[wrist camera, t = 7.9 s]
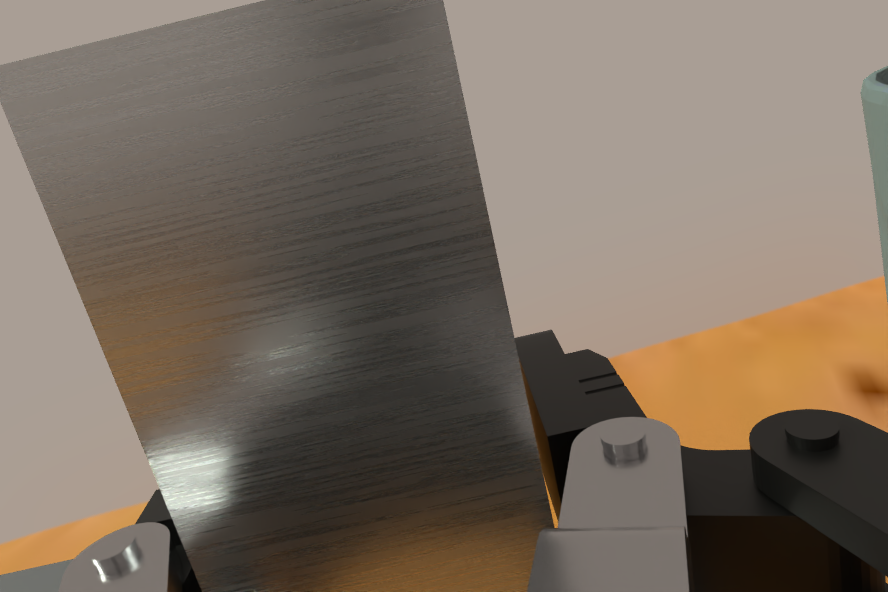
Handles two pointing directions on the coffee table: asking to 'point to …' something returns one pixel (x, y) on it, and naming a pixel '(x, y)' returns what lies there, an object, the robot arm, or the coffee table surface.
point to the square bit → (296, 291)
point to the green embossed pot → (878, 149)
